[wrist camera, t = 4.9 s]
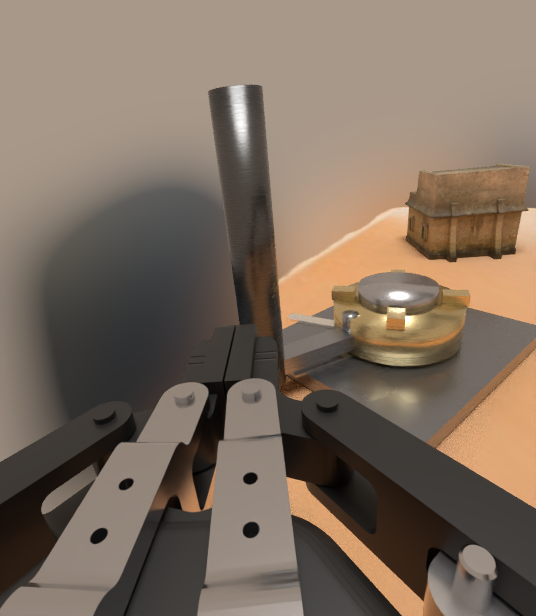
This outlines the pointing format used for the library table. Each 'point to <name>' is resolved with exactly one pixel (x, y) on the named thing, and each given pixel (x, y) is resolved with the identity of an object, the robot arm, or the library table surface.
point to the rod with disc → (347, 299)
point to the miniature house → (467, 212)
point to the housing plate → (421, 373)
